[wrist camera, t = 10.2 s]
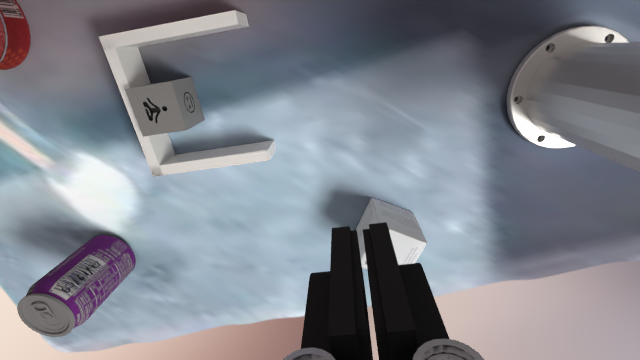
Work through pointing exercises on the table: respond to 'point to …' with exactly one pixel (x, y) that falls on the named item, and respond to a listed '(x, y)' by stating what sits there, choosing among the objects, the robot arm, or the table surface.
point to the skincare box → (393, 231)
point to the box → (133, 74)
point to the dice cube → (165, 106)
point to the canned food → (13, 35)
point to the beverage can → (76, 286)
